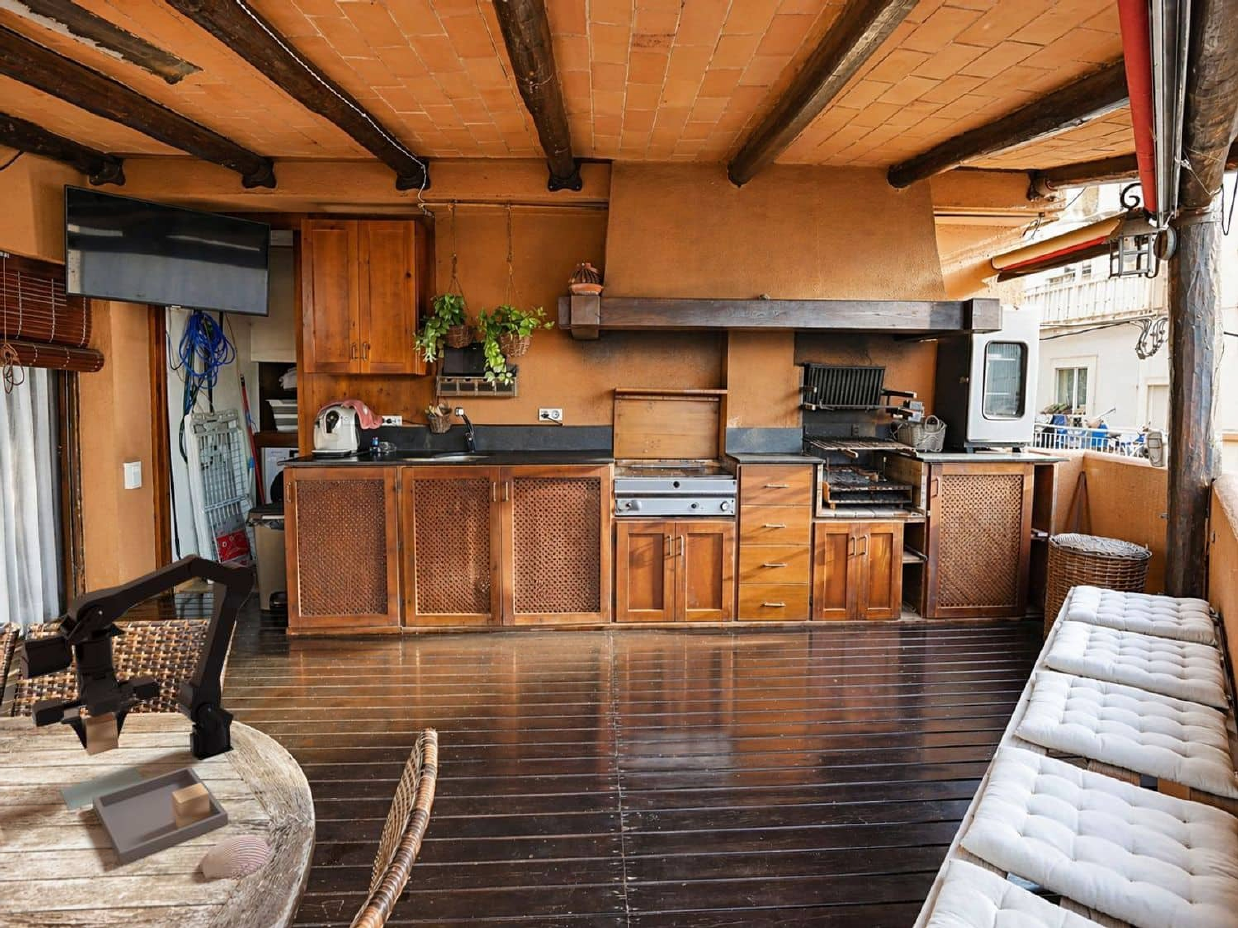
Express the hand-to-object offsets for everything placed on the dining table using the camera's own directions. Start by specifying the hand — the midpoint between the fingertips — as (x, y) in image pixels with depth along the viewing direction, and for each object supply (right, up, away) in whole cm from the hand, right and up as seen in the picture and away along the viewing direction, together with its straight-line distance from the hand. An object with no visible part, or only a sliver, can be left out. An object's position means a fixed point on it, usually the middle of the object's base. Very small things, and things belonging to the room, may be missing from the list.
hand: (101, 743), depth 137 cm
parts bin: (+16, -10, -8) cm, 20 cm away
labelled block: (0, -1, 0) cm, 1 cm away
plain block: (+23, -10, -10) cm, 26 cm away
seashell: (+35, -12, -19) cm, 41 cm away
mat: (0, -9, +1) cm, 9 cm away
